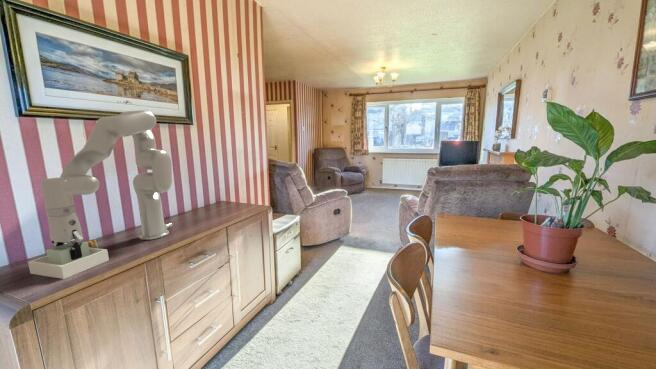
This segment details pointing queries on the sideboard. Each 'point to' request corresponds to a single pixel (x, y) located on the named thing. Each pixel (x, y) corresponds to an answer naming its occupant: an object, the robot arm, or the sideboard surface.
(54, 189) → the robot arm
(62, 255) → the small crate
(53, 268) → the big crate
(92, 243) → the pastry
